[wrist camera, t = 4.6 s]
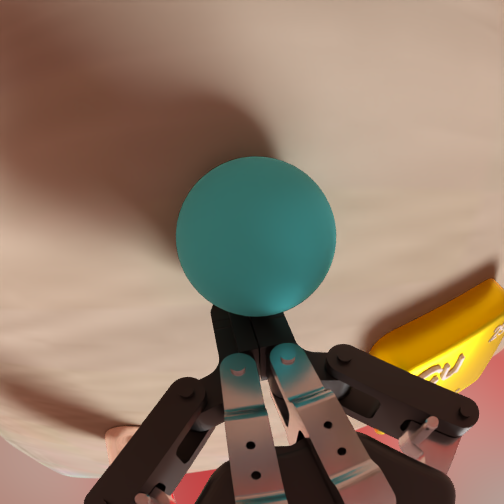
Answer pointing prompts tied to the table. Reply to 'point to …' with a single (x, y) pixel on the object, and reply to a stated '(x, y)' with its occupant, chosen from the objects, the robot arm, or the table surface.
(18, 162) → the table surface
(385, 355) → the element tile
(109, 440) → the silver metal tumbler
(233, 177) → the ball
